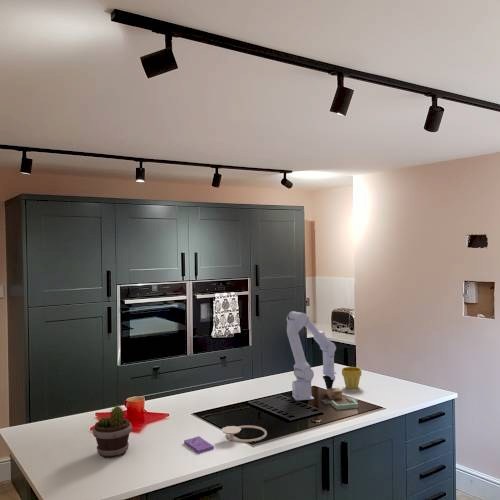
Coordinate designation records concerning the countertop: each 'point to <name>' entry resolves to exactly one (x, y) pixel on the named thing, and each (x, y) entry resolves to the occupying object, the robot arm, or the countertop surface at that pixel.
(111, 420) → the flowerpot
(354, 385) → the plant pot
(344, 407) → the green u-shaped piece
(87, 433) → the countertop surface
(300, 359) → the robot arm
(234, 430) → the hand towel holder
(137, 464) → the countertop surface
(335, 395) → the walnut block
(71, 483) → the countertop surface
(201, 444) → the sponges
